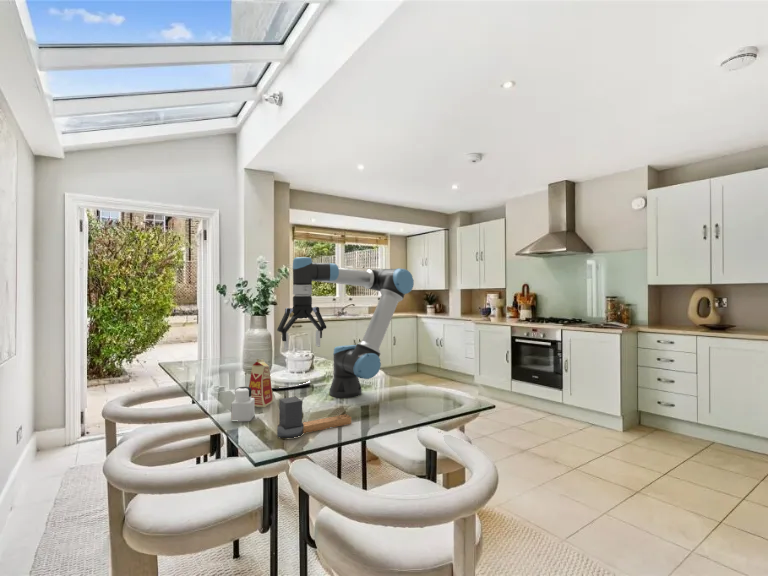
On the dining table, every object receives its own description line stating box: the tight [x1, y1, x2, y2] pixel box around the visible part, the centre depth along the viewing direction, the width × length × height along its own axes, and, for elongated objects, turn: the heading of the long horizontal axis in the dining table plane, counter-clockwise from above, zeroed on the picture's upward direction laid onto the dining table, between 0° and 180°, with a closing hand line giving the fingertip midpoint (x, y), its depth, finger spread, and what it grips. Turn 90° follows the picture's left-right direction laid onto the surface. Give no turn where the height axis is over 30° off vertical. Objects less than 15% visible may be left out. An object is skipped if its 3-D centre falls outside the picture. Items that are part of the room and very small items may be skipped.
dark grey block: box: [278, 396, 303, 430], centre depth 142 cm, size 6×6×9 cm
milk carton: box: [248, 358, 274, 408], centre depth 176 cm, size 9×9×20 cm
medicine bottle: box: [230, 386, 255, 422], centre depth 157 cm, size 7×7×12 cm
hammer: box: [276, 413, 352, 439], centre depth 147 cm, size 28×9×8 cm, turn 123°
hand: (302, 347), depth 164 cm, fingers open, 13 cm apart
